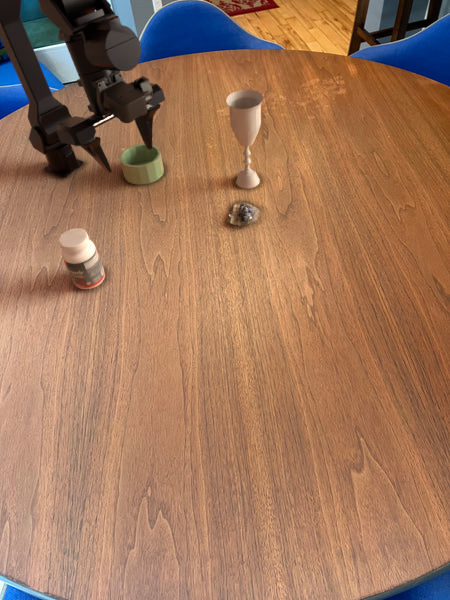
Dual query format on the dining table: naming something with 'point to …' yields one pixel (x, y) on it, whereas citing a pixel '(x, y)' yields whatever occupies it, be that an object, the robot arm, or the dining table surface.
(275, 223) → the dining table surface
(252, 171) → the chalice
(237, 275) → the dining table surface
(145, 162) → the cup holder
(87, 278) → the pill bottle
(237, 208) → the grey flat irregular piece
